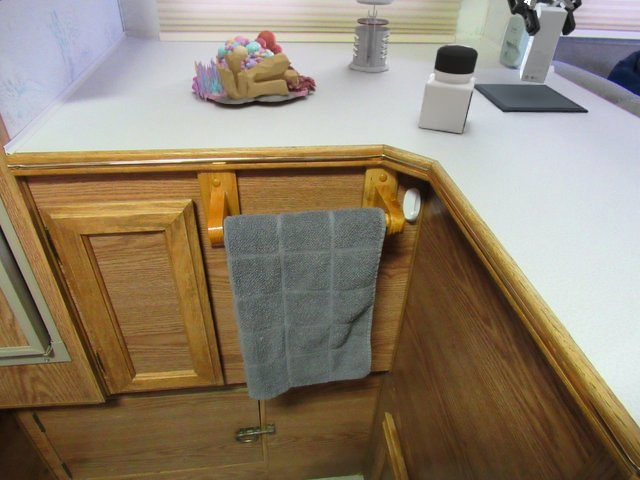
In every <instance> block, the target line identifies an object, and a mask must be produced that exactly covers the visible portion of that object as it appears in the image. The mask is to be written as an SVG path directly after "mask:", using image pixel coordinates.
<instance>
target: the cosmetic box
mask: <svg viewBox="0 0 640 480" xmlns="http://www.w3.org/2000/svg"><path fill="white" fill-rule="evenodd" d="M564 8H565V7H562V8H560V7H548V5H540V6H539V8H538V11H537V15H538V19H539V24H540V30H539V31H538V32H537V33H536V34H535V35H534V36H529V41H528V43H527V47H526V49H525V50H526V51H525V53H524V56H523V60H522V63H521V65H520V69H519V78H520V81H521V82H529V83H535V84H537V83H538V84H545V81H546V77H547V75H548V72H549V70H550V66H551V63H552V61H553V58H554V54H555V52H556V49H557V47H558V46H557V45H558V43H559V40H560V38H561V37H560V36H561V35H562V28H563V25H564V23H565V20H566V17H567V14H568V12H567V11H566V10H565V9H564Z"/></svg>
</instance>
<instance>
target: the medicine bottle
mask: <svg viewBox="0 0 640 480" xmlns="http://www.w3.org/2000/svg"><path fill="white" fill-rule="evenodd" d="M478 56H479V53H478V50H476V49H475V48H473V47H471V46H468V45H464V44H445V45H442V46H440V47H439V48H437V50H436V56H435V61H434V67H433V72H432V73H431V74H430V76H429V78H428V80H427V81H426V82H425V85H424V86H425V87H424V91H423V96H422V97H423V98H422V102H421V109H420V115H419V121H418V127H419V128H421V129H428V130H435V131H441V132H447V133H453V134H461V135H462V134H463V133H464V130H465V127H466V122H467V119H468V115H469V110H470V108H471V107H470V106H471V103H472V98H473V93H474V90H475V88H474V86H475V84H476V81H477V78H476V77H475V76H474V74H475V69H476V64H477V61H478Z"/></svg>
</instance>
